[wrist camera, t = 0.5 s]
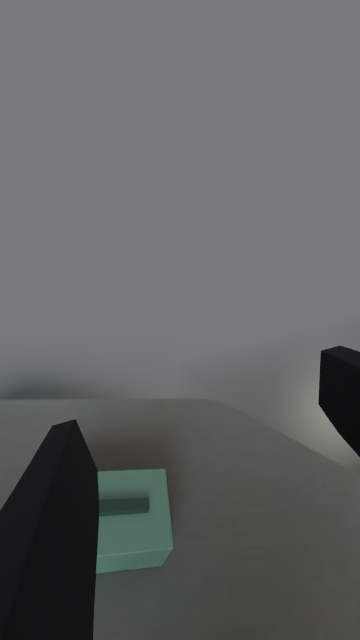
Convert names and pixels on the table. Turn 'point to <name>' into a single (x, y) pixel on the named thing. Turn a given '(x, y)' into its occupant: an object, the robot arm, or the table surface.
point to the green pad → (133, 520)
